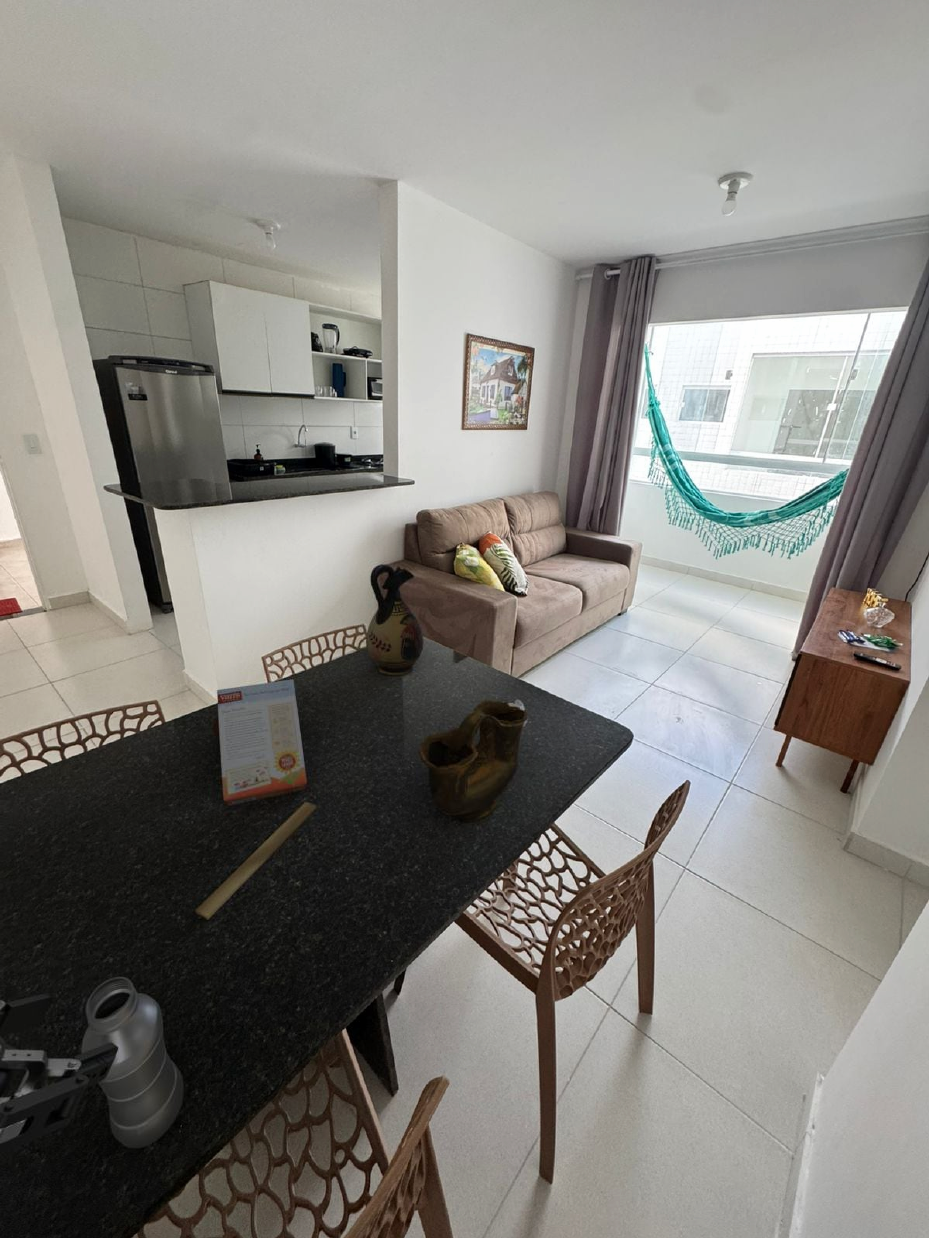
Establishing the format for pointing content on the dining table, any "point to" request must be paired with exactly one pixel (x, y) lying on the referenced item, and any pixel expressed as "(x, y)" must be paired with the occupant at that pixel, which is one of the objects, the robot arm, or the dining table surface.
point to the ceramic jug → (393, 625)
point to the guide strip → (254, 862)
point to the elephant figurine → (518, 704)
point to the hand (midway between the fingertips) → (76, 1031)
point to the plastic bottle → (134, 1062)
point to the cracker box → (260, 742)
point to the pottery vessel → (474, 760)
